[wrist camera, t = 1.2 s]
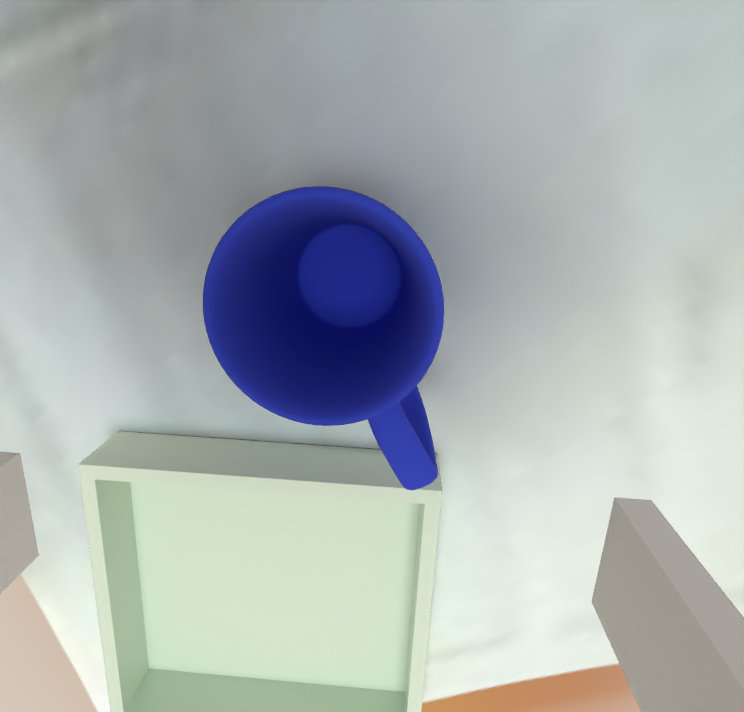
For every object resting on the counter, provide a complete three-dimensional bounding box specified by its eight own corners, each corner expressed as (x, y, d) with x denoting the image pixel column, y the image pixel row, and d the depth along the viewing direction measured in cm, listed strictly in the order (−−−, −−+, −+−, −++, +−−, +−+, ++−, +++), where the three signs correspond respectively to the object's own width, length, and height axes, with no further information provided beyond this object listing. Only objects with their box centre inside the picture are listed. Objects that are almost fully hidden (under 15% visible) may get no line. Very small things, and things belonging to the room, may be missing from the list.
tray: (119, 431, 30) (77, 464, 27) (437, 453, 29) (442, 491, 26) (143, 666, 35) (112, 722, 32) (416, 691, 35) (417, 752, 31)
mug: (353, 432, 29) (328, 543, 20) (244, 240, 27) (154, 261, 17) (487, 371, 28) (530, 460, 18) (385, 161, 25) (372, 136, 16)
